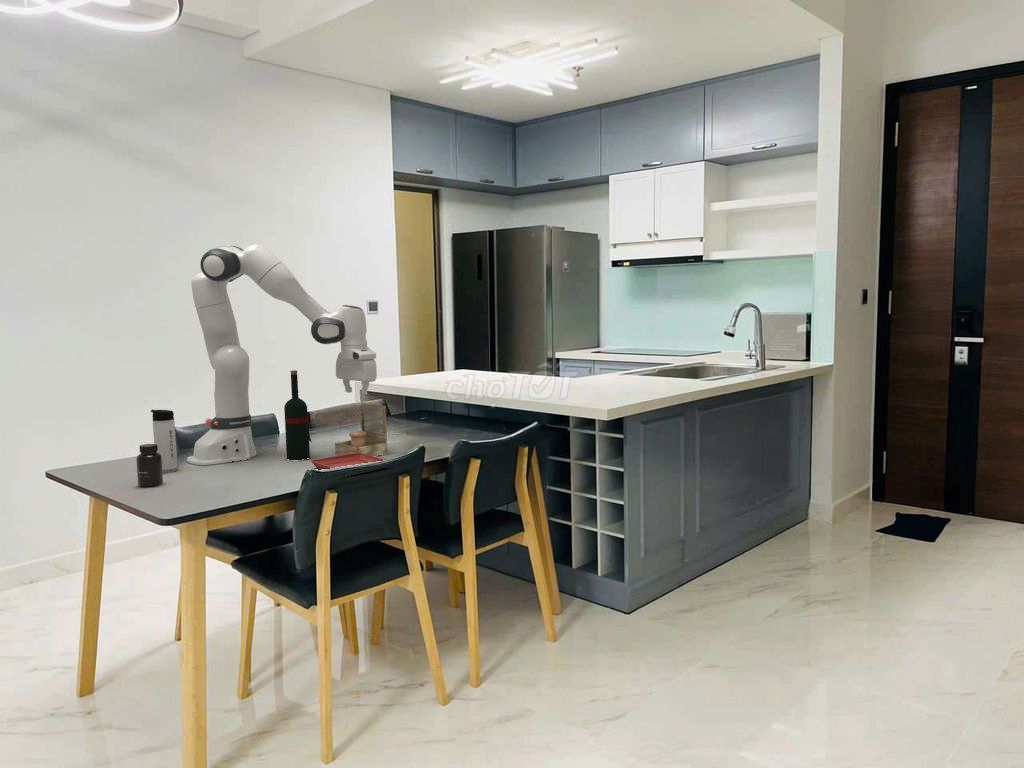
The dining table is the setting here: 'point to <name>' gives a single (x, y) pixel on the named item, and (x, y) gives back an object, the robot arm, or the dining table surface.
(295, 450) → the wine bottle
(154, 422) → the travel mug
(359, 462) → the plant saucer
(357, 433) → the terracotta pot
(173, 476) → the dining table surface
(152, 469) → the supplement bottle
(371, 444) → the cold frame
